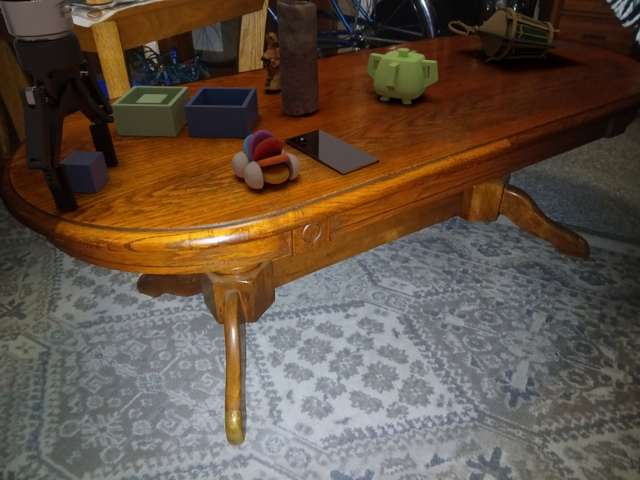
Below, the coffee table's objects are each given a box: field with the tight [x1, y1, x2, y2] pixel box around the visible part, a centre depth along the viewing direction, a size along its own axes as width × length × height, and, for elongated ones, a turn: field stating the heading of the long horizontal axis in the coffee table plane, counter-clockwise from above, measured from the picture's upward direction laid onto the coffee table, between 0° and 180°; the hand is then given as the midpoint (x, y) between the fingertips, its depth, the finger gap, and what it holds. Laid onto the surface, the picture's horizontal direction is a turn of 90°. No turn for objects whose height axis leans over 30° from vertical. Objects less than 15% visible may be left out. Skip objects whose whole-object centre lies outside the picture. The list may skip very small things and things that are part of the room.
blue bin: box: [184, 86, 260, 139], centre depth 93 cm, size 11×11×6 cm
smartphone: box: [284, 129, 380, 175], centre depth 85 cm, size 8×1×16 cm
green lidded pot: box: [366, 47, 439, 105], centre depth 105 cm, size 12×12×10 cm
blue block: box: [60, 150, 111, 194], centre depth 75 cm, size 4×4×4 cm
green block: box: [136, 94, 169, 105], centre depth 94 cm, size 4×4×4 cm
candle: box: [276, 0, 320, 117], centre depth 96 cm, size 8×7×20 cm
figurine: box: [259, 32, 281, 92], centre depth 108 cm, size 5×6×12 cm
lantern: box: [448, 2, 587, 63], centre depth 127 cm, size 14×23×30 cm
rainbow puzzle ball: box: [230, 129, 301, 190], centre depth 76 cm, size 8×10×7 cm
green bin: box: [110, 85, 191, 138], centre depth 94 cm, size 11×11×6 cm
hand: (89, 184), depth 76 cm, fingers open, 13 cm apart
